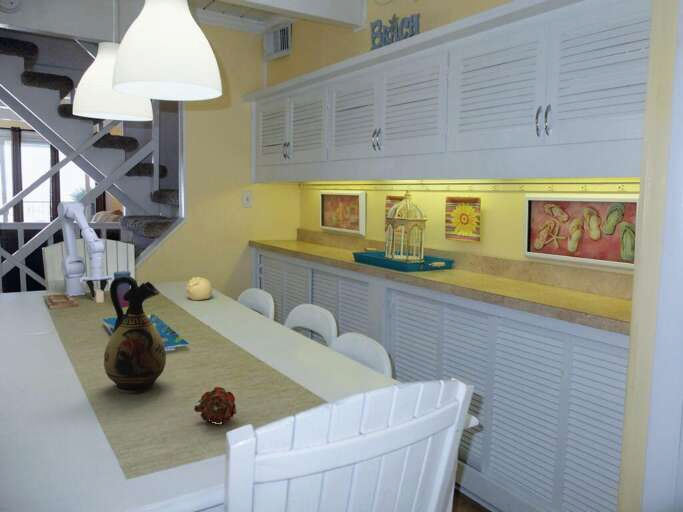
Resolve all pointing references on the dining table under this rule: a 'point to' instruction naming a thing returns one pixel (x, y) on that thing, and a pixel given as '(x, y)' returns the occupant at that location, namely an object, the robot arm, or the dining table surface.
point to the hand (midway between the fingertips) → (97, 296)
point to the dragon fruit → (217, 405)
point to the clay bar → (98, 295)
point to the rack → (61, 301)
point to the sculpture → (199, 288)
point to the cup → (122, 288)
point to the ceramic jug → (134, 341)
